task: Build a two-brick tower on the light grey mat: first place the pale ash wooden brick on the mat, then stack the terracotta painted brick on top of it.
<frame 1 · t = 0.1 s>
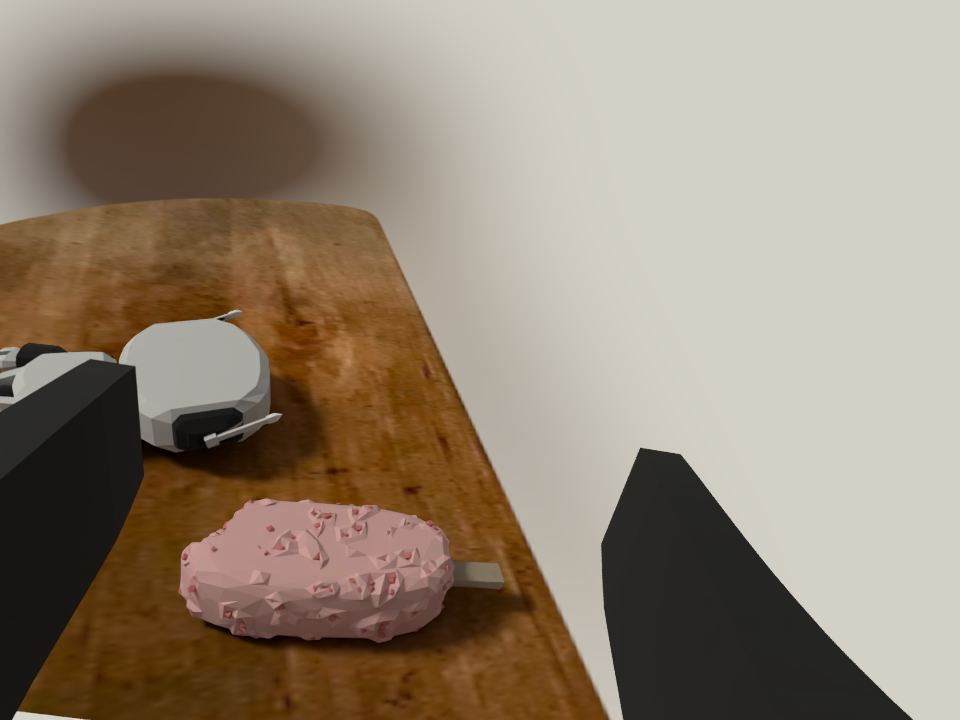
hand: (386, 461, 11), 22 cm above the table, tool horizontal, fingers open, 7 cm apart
ice cream bar: (344, 602, 36), on the table
robot toy: (137, 426, 44), on the table
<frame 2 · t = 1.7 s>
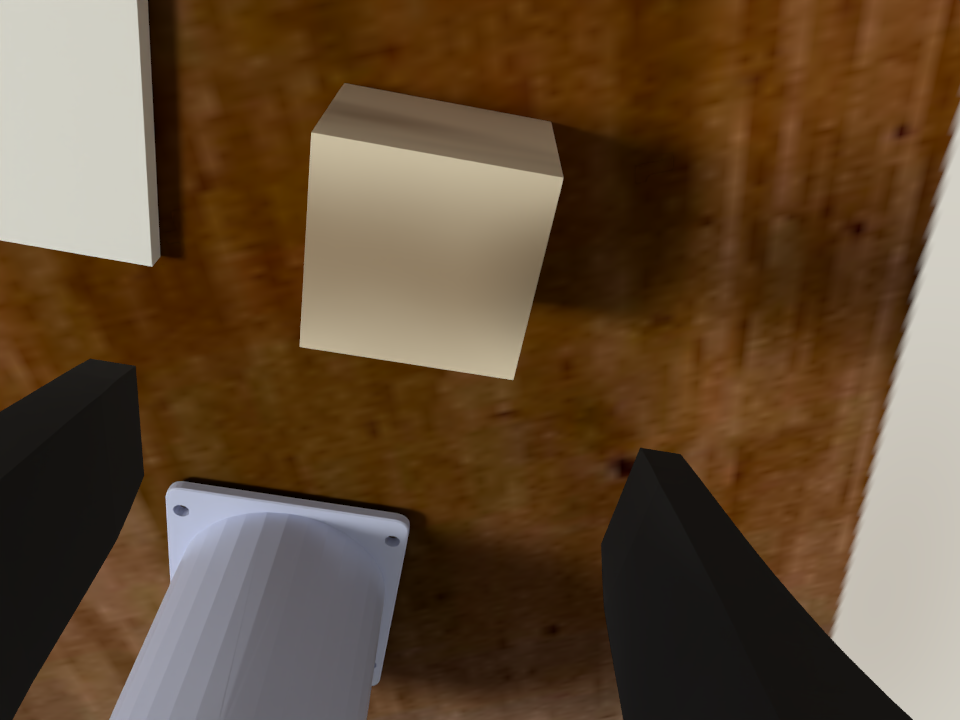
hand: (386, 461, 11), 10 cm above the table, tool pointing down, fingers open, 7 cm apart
ash brick: (434, 198, 19), on the table
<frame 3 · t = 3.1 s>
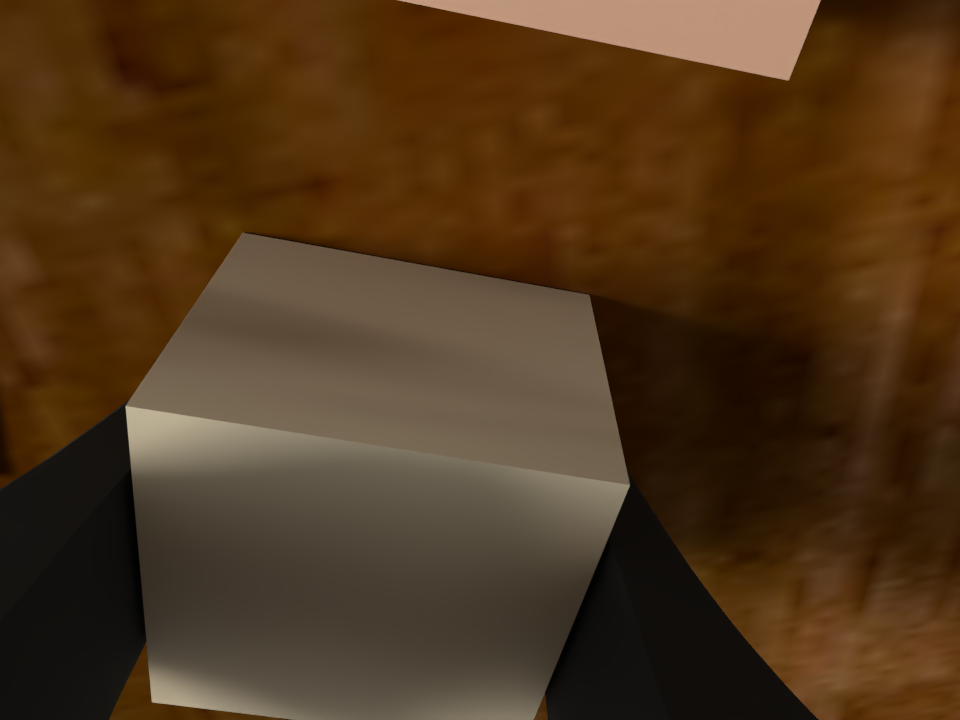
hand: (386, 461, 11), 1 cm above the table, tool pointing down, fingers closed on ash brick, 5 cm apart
ash brick: (397, 401, 12), on the table, touching gripper
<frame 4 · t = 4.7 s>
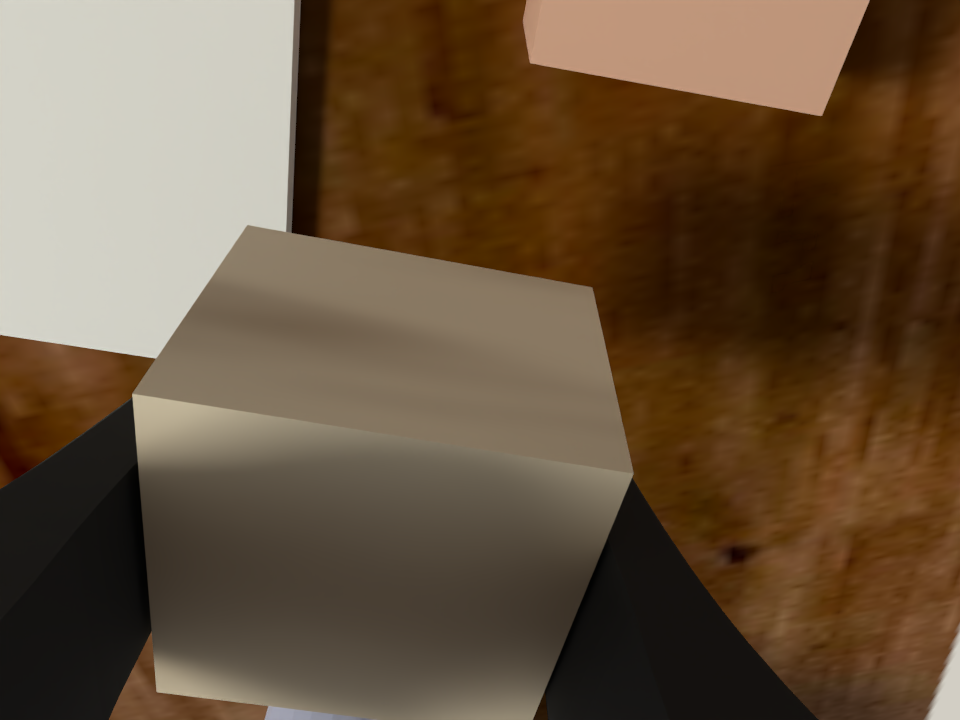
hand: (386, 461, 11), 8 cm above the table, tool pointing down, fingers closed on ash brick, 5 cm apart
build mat: (54, 9, 15), on the table
ash brick: (400, 394, 12), point 7 cm above the table, touching gripper
when the fingers open (3 cm above the table, at t = 6.7 s): ash brick drops 1 cm, resting on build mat.
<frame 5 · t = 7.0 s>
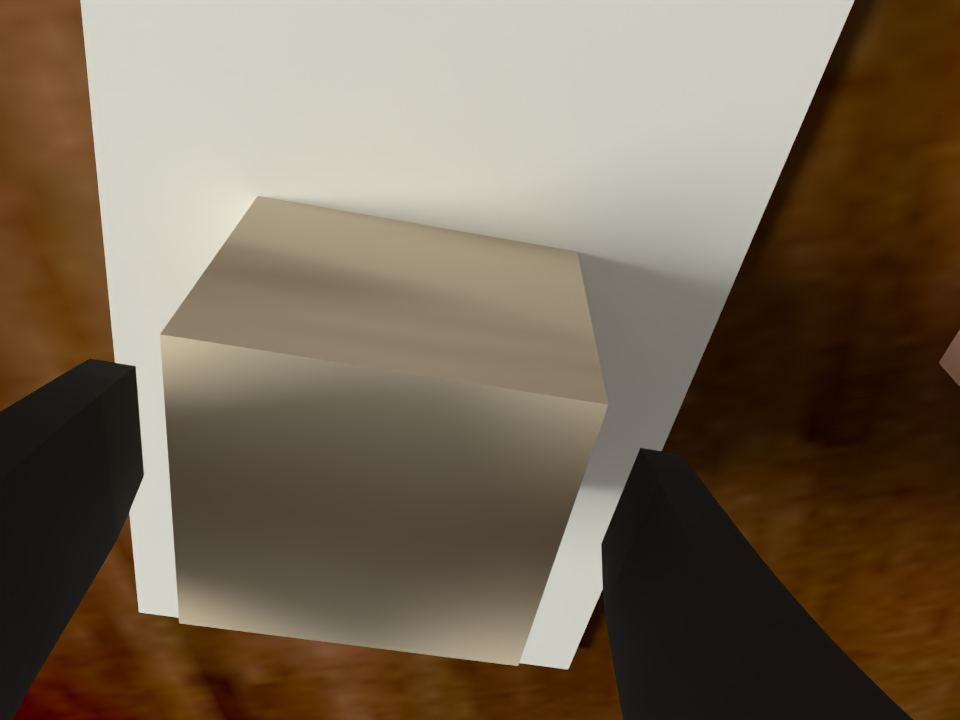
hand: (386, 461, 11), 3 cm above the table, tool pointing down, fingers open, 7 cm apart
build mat: (408, 342, 14), on the table
ash brick: (400, 356, 13), point 1 cm above the table, touching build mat
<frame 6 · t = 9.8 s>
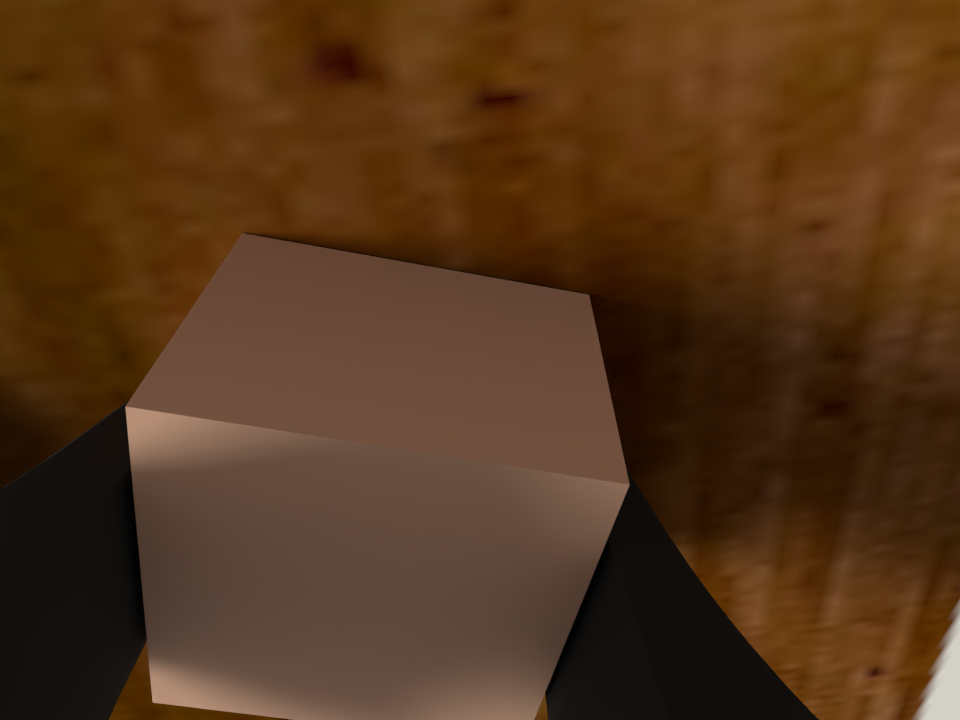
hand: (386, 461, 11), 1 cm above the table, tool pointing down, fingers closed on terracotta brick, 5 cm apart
terracotta brick: (397, 401, 12), on the table, touching gripper
when the fingers open (7 cm above the table, at t = 13.1 s): terracotta brick drops 1 cm, resting on ash brick.
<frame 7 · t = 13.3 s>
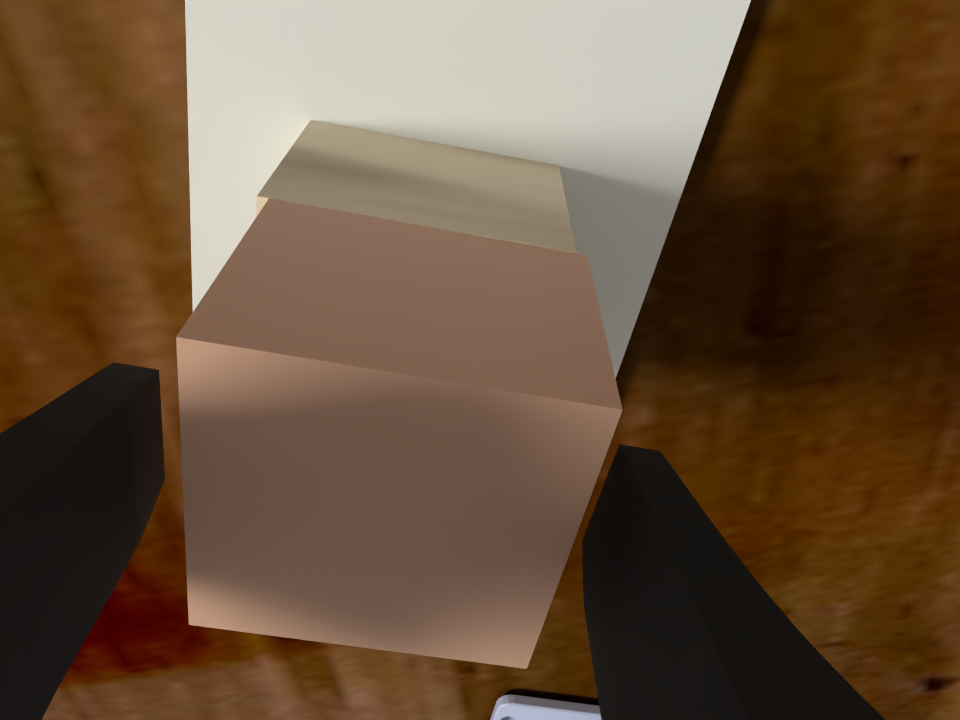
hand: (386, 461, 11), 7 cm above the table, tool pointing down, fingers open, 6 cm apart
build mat: (425, 247, 17), on the table
ash brick: (419, 255, 16), point 1 cm above the table, touching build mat, terracotta brick
terracotta brick: (409, 358, 13), point 5 cm above the table, touching ash brick
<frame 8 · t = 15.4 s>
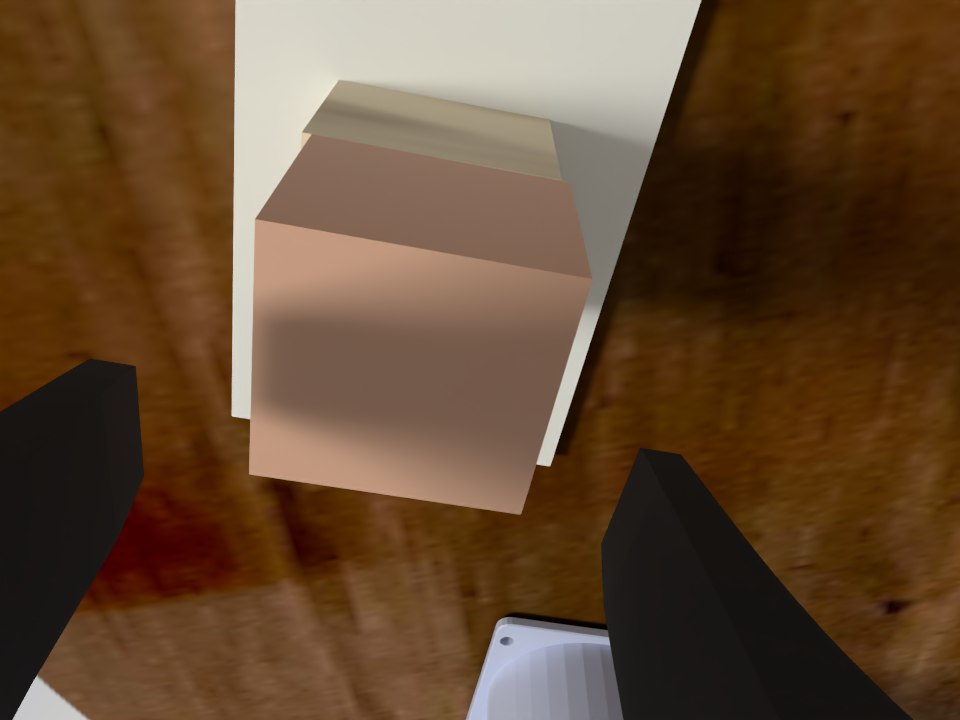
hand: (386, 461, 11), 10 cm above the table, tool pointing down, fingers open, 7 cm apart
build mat: (435, 194, 20), on the table
ash brick: (430, 199, 19), point 1 cm above the table, touching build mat, terracotta brick
terracotta brick: (424, 274, 16), point 5 cm above the table, touching ash brick
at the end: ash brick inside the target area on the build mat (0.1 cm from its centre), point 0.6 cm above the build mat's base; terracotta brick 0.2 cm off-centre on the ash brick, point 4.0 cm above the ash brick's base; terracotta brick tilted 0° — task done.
